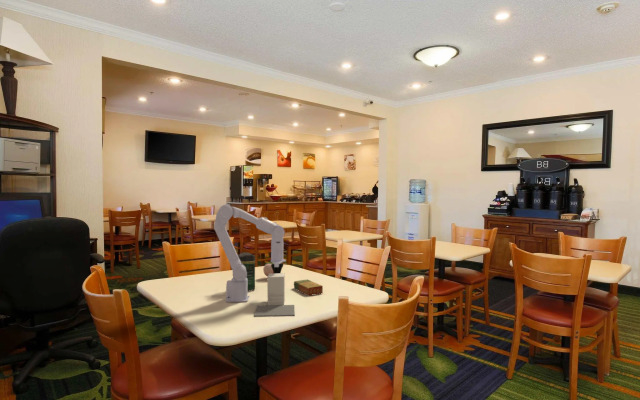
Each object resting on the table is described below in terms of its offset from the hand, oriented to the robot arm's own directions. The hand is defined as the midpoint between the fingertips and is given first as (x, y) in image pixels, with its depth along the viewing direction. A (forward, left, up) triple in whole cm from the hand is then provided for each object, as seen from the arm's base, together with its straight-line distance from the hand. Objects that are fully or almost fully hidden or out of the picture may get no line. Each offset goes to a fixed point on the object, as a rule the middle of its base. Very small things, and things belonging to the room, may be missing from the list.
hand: (277, 279), depth 170 cm
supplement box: (0, -9, -9) cm, 12 cm away
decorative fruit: (-5, +38, -9) cm, 39 cm away
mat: (0, -20, -8) cm, 22 cm away
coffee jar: (-16, +15, -9) cm, 24 cm away
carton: (+15, +11, -9) cm, 21 cm away
